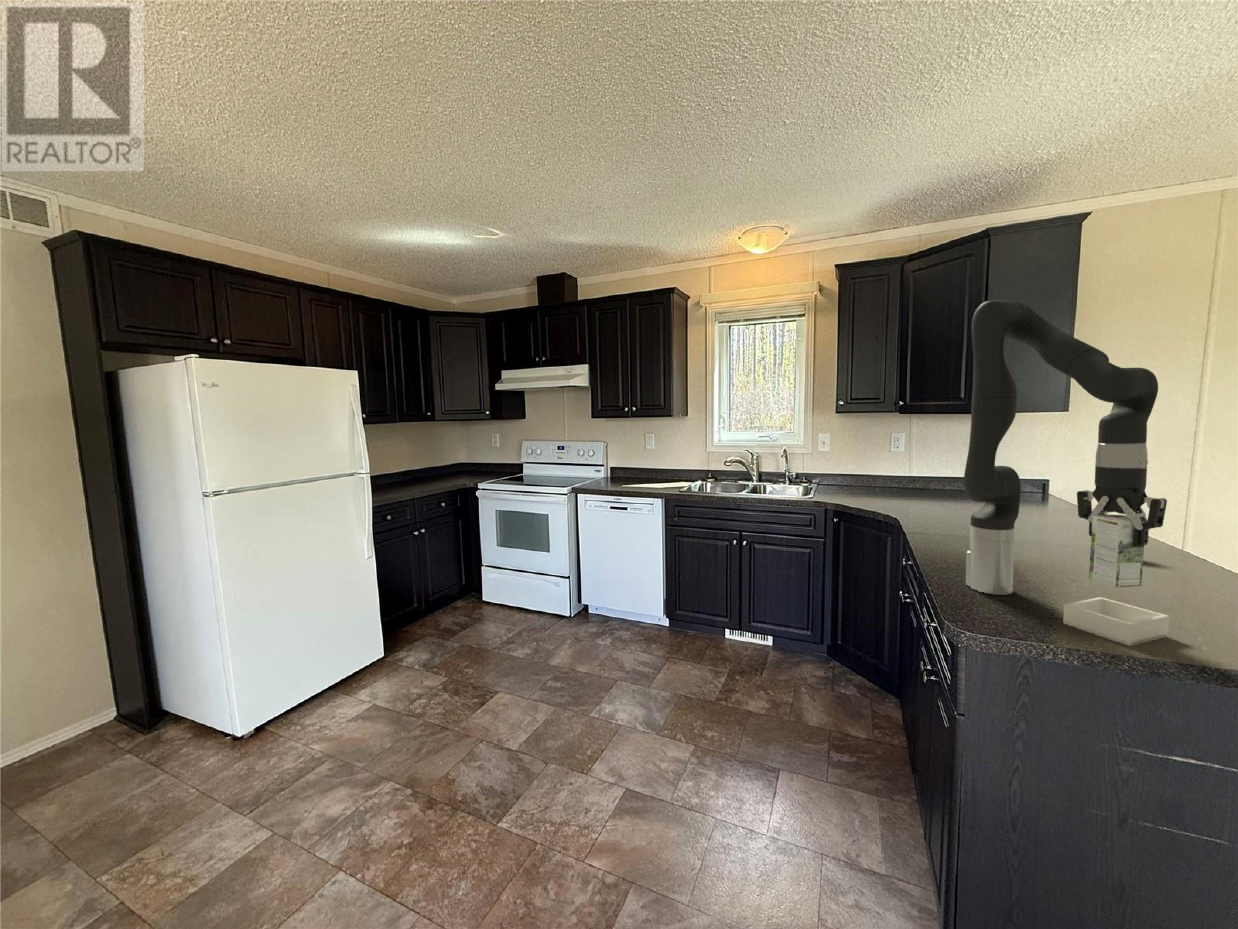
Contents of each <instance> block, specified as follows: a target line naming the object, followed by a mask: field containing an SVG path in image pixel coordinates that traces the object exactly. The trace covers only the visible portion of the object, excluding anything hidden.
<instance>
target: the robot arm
mask: <svg viewBox="0 0 1238 929" xmlns="http://www.w3.org/2000/svg"><path fill="white" fill-rule="evenodd" d="M971 338H972V340H971V341H972V353H973V370H972V371H973V374H972V376H973V377H972V393H971V394H972V395H971V408H970V410H971V411H970V412H971V414H970V417H971V418H970V419H971V420H970V431H969V432H970V433H969V443H968V451H967V452H968V453H967V458H966V461H965V462H966V464H965V467H964V468H965V469H964V474H963V475H964V476H963V488H964V491H965V494H966V495H967V497H968V498H969V499H970V500H972V501H974V502H977V503H984V505H983V506H982V507H981V508H980V509H978V510H977V511H975V512H973V513H972V514H971V516H970V538H969V540H970V541H969V544H970V545H969V546H970V547H969V550H968V551H966V554H965V555H966V557H965V558H966V560H965V586H967V585H968V586H967V587H969V586H970V587H969V588H971V589H972V590H974V589H975V590H974V591H976V590H977V591H976V592H980V593H983V592H984V594H989V595H999V596H1000V595H1001V596H1003V595H1004V596H1006V595H1010V594H1013V586H1014V585H1013V584H1014V583H1013V582H1014V557H1015V556H1014V553H1015V552H1014V551H1015V549H1014V548H1015V546H1014V545H1015V522H1016V521H1017V519H1018V517H1019V515H1020V503H1021V493H1022V492H1021V491H1022V483H1021V479H1020V475H1019V474H1018V472H1017V471H1016V470H1015V469H1014V468H1012V467H1010V466H1007V465H996V456H997V450H998V448H999V446H1000V443H1002V442H1001V441H1002V440H1003V438H1004V437H1005V435H1006V434H1007V432H1008V431H1009V429H1010V428H1011V426H1012V424H1013V422H1014V420H1015V418H1016V414H1017V401H1018V388H1017V385H1016V381H1015V380H1014V377H1013V375H1012V373H1011V372H1010V369H1009V368H1008V365H1007V363H1006V359H1005V354H1004V352H1005V350H1004V346H1005V345H1004V344H1005V339H1008V338H1009V339H1013V340H1016V341H1019V342H1022V343H1024V344H1026V345H1028V346H1030V347H1031V348H1033V349H1034V350H1035V351H1036V352H1037V354H1038V355H1039V356H1040V358H1041V359H1042V360H1043V361H1044V362H1045V363H1046V364H1047V365H1049V366H1050V367H1052V368H1053V369H1055V370H1057V371H1058V372H1060V373H1062V374H1063V375H1066V376H1067V377H1068V378H1071V379H1073V380H1074V381H1075V382H1076V383H1077V384H1078V385H1079V386H1080V387H1081V388H1083V390H1085V392H1087V393H1088V395H1090V396H1092V397H1093V398H1096V399H1098V400H1099V401H1102V402H1106V403H1112V406H1111V410H1110V413H1109V414H1107V415H1105V416H1103V417H1102V418H1101V419H1099V422H1098V434H1097V435H1098V437H1097V438H1098V439H1097V442H1098V443H1097V448H1096V452H1095V464H1094V466H1095V467H1094V485H1095V488H1094V490H1093V491H1091V490H1089V489H1088V490H1079V491H1077V492H1076V503H1077V516H1078V517H1079V518H1081V519H1085V520H1087V521H1088V535H1089V537H1091V534H1092V518H1093V515H1109V513H1116V514H1124V515H1126V516H1127V517H1128V519H1130V520H1131V521H1132V523H1133V524H1134V526H1135V528H1136V529H1134V535H1133V546H1134V547H1137V548H1140V547H1144V548H1145V545H1146V546H1147V545H1148V543H1149V532H1150V530H1151V529H1155V528H1156V529H1157V528H1162V527H1164V526H1163V524H1164V520H1165V514H1166V510H1167V504H1168V500H1167V499H1166V498H1163V497H1161V498H1157V497H1150V496H1148V495H1147V493H1146V487H1147V479H1148V478H1147V476H1148V464H1149V461H1148V457H1149V456H1148V448H1147V439H1148V438H1147V436H1148V421H1149V418H1150V416H1151V413H1152V411H1153V408H1154V406H1155V403H1156V400H1157V396H1158V394H1159V393H1158V392H1159V382H1158V379H1157V376H1156V374H1154V372H1152V371H1151V370H1150V369H1147V368H1144V367H1121V366H1118V365H1115V364H1113V362H1112V363H1111V362H1110V358H1109V356H1108V354H1106V353H1105V352H1104V351H1103V350H1101V349H1099V348H1096V347H1095V346H1093V345H1090V344H1089V343H1087V342H1085V341H1083V340H1080V339H1078V338H1076V337H1074V336H1072V335H1071V334H1069V333H1067V332H1065V331H1063V330H1061V329H1060V328H1057V326H1055V325H1054V324H1052V323H1051V322H1049V321H1048V320H1047V319H1045V318H1043V317H1042V316H1041V315H1040V314H1039V313H1038V312H1036V311H1035V310H1034V309H1032V308H1031V306H1028V305H1027V304H1025V303H1024V302H1022V301H1019V300H1011V299H1010V300H1007V299H1006V300H1003V299H1000V300H997V299H994V300H993V299H992V300H988V301H987V300H986V301H985V302H983V303H981V304H980V305H979V306H978V307H977V308H976V309H975V312H974V313H973V316H972V321H971ZM1094 499H1095V500H1096V502H1097V504H1096V505H1095V507H1094V508H1092V506H1093V505H1092V504H1093V503H1092V501H1093V500H1094ZM1144 504H1146V506H1147V508H1148V510H1149V511H1148V516H1147V514H1146V512H1145V511H1144V509H1143V507H1142V506H1143V505H1144Z"/></svg>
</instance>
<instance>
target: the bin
mask: <svg viewBox="0 0 1238 929" xmlns="http://www.w3.org/2000/svg"><path fill="white" fill-rule="evenodd" d="M1062 622H1063V623H1064V624H1063V625H1065V624H1067V625H1066V626H1068V625H1069V626H1068V627H1071V626H1074V627H1076V628H1075V629H1077V628H1078V630H1080V629H1081V630H1080V631H1083V630H1085V631H1084V632H1086V631H1087V633H1089V634H1092V633H1094V634H1093V635H1096V636H1098V637H1102V638H1104V639H1107V640H1109V641H1113V642H1116V643H1119V644H1122V645H1126V646H1128V647H1133V646H1136V645H1140V644H1146V643H1148V642H1149V641H1150V642H1153V641H1152V640H1154V641H1157V640H1161V638H1162V639H1165V637H1166V638H1168V637H1169V624H1170V623H1169V622H1170V615H1167V614H1164V613H1159V612H1156V611H1153V610H1149V609H1145V608H1142V607H1138V606H1135V605H1130V604H1128V603H1124V602H1120V601H1117V600H1112V599H1108V598H1104V597H1101V596H1097V597H1093V598H1090V599H1089V598H1088V599H1084V600H1079V601H1075V602H1074V601H1073V602H1070V603H1064V604H1063V621H1062ZM1074 627H1073V628H1074Z"/></svg>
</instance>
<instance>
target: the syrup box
mask: <svg viewBox="0 0 1238 929" xmlns="http://www.w3.org/2000/svg"><path fill="white" fill-rule="evenodd" d="M1134 529H1136V528H1135V526H1134V524H1133V523H1132V521H1131V520H1130V519H1128V517H1127V516H1126V514H1120V513H1114V514H1113V513H1112V514H1106V515H1093V518H1092V534H1091V536H1090V537H1091V538H1090V551H1089V552H1090V553H1089V556H1090V557H1089V568H1088V569H1089V572H1088V573H1089V574H1088V579H1089V580H1091V581H1094V582H1097V583H1100V584H1103V585H1106V586H1110V587H1113V588H1127V587H1128V588H1129V587H1130V588H1131V587H1141V586H1142V583H1143V582H1142V581H1143V566H1144V551H1145V546H1144V547H1140V548H1137V547H1134V546H1133V535H1134Z"/></svg>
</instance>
